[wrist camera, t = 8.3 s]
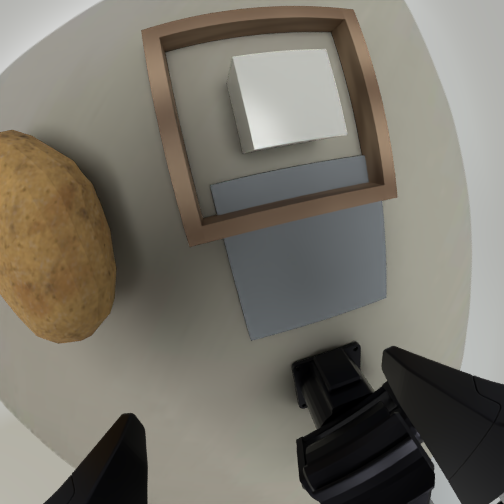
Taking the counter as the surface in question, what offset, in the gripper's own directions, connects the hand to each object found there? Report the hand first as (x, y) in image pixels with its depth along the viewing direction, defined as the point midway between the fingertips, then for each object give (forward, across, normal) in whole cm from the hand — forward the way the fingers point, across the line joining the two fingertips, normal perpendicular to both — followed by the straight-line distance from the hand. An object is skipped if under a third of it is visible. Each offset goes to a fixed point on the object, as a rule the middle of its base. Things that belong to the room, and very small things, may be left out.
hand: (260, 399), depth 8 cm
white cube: (+12, -5, -10) cm, 16 cm away
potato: (+12, +11, -7) cm, 18 cm away
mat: (+12, -6, 0) cm, 13 cm away
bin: (+12, -5, -10) cm, 16 cm away
